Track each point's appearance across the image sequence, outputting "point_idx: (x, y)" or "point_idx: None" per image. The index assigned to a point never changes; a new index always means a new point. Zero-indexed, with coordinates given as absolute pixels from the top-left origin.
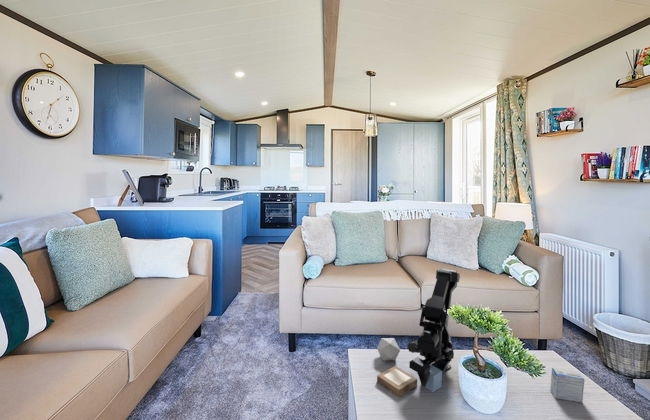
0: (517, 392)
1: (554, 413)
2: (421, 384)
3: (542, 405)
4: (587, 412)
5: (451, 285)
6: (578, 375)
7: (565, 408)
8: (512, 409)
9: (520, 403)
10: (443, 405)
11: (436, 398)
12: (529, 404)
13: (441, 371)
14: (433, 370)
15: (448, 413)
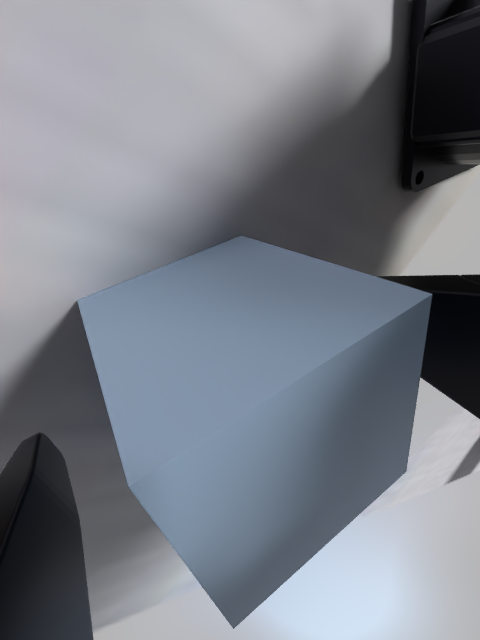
0: (462, 409)
1: (436, 486)
2: (10, 462)
3: (447, 460)
4: (472, 469)
5: None
6: None
7: (463, 463)
8: (384, 494)
9: (422, 461)
10: (131, 557)
11: (125, 498)
12: (433, 461)
13: (392, 477)
14: (334, 484)
15: (115, 617)
